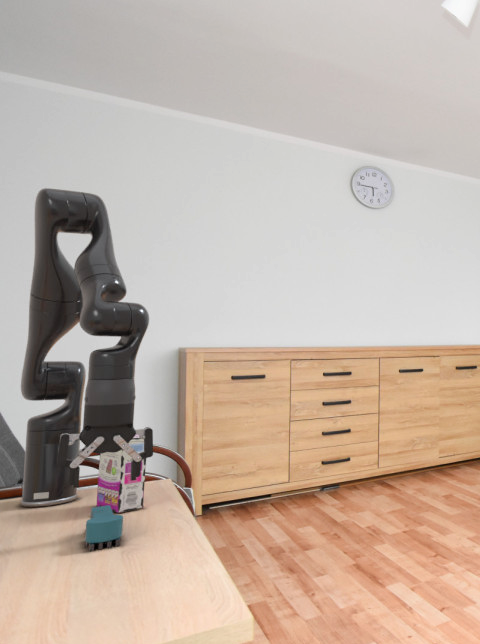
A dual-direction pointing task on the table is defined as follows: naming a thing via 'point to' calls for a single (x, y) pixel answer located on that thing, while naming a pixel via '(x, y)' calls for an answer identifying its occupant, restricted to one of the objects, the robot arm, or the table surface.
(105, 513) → the teal mallet
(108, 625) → the table surface
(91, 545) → the fork
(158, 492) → the table surface
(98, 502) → the candy bar box
